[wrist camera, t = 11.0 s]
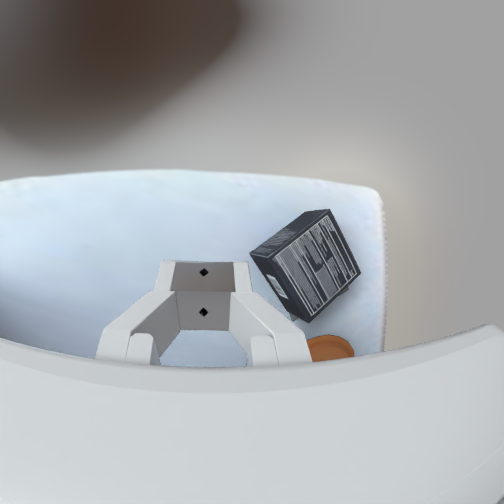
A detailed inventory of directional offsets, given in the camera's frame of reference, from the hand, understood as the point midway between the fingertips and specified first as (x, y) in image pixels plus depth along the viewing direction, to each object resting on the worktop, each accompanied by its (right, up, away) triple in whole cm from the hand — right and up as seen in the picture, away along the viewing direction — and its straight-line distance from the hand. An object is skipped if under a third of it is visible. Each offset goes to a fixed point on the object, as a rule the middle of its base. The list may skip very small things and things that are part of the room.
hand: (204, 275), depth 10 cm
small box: (+5, -4, +25) cm, 25 cm away
